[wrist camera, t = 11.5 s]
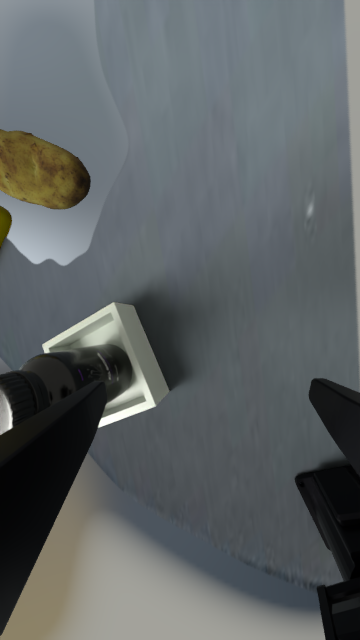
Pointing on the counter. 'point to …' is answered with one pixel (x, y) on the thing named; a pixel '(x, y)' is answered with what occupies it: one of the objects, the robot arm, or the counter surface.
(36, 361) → the supplement bottle
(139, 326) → the sage tray
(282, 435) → the counter surface
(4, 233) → the element tile
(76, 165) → the potato
